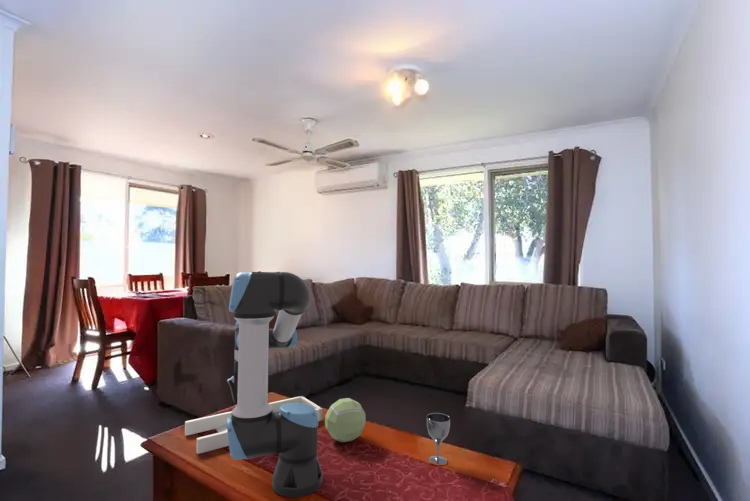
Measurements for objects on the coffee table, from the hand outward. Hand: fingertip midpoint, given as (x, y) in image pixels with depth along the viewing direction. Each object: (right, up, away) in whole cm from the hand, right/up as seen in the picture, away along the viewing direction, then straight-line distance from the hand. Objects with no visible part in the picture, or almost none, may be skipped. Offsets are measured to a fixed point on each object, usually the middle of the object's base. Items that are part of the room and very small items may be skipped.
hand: (242, 418), depth 159 cm
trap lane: (+5, -7, +3) cm, 9 cm away
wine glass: (+74, -6, -21) cm, 77 cm away
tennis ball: (+41, -5, -6) cm, 42 cm away
